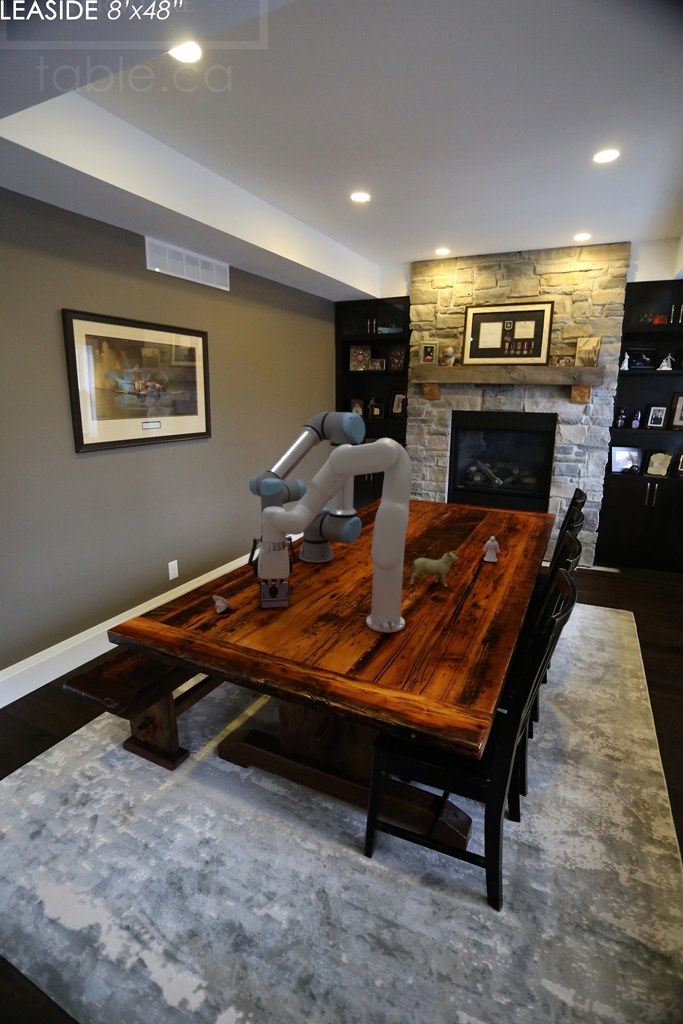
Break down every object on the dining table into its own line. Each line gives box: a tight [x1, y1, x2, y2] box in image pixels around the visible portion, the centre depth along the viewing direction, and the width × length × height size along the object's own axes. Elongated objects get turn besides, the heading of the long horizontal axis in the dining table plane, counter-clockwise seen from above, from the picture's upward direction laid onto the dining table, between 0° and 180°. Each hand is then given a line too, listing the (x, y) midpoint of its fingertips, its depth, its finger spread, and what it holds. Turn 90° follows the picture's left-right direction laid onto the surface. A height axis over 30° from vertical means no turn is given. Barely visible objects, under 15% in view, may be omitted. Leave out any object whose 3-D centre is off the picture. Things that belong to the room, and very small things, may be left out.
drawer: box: [261, 581, 290, 609], centre depth 173 cm, size 18×9×9 cm, turn 11°
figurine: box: [482, 535, 501, 563], centre depth 223 cm, size 8×8×12 cm
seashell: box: [212, 594, 235, 614], centre depth 169 cm, size 8×5×8 cm
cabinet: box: [258, 579, 290, 609], centre depth 179 cm, size 14×10×11 cm
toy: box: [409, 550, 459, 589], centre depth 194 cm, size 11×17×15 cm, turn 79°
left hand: (273, 582), depth 181 cm, fingers closed on cabinet, 10 cm apart
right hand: (273, 596), depth 167 cm, fingers closed
